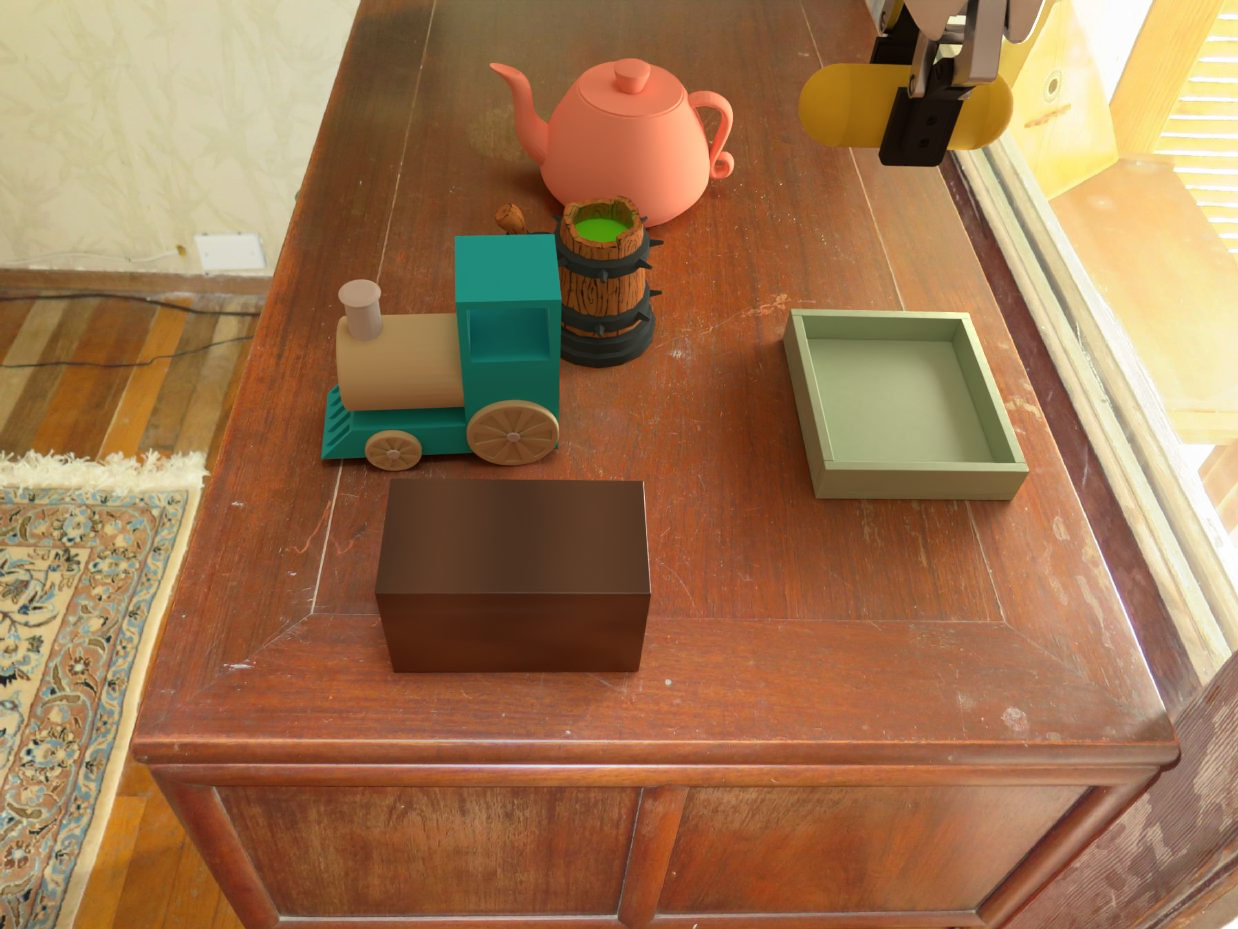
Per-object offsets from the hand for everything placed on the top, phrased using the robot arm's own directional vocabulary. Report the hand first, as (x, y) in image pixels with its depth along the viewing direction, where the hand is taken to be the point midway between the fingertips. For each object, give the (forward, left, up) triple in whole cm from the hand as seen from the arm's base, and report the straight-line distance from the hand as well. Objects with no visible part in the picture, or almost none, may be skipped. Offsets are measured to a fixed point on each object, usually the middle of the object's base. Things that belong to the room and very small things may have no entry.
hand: (898, 133), depth 52 cm
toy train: (+18, +19, -28) cm, 38 cm away
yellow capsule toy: (0, 0, 0) cm, 1 cm away
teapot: (+34, -10, -28) cm, 45 cm away
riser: (+2, +23, -27) cm, 36 cm away
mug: (+21, +4, -28) cm, 35 cm away
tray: (-1, -10, -27) cm, 29 cm away
